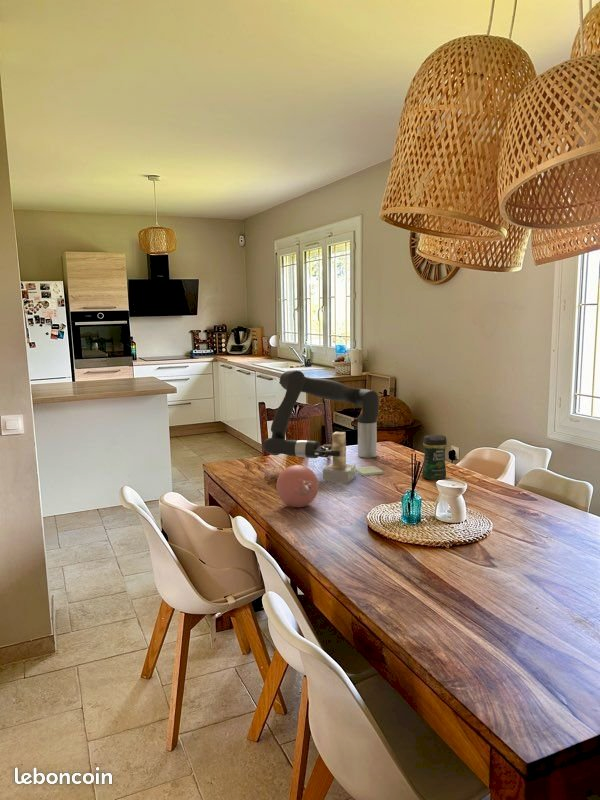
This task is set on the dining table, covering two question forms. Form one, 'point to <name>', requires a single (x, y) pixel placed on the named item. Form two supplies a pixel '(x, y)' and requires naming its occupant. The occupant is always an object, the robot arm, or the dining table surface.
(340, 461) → the beech peg
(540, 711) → the dining table surface
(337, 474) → the block
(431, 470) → the coffee jar
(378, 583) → the dining table surface
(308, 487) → the pink rubber ball
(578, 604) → the dining table surface
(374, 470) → the sage mat
